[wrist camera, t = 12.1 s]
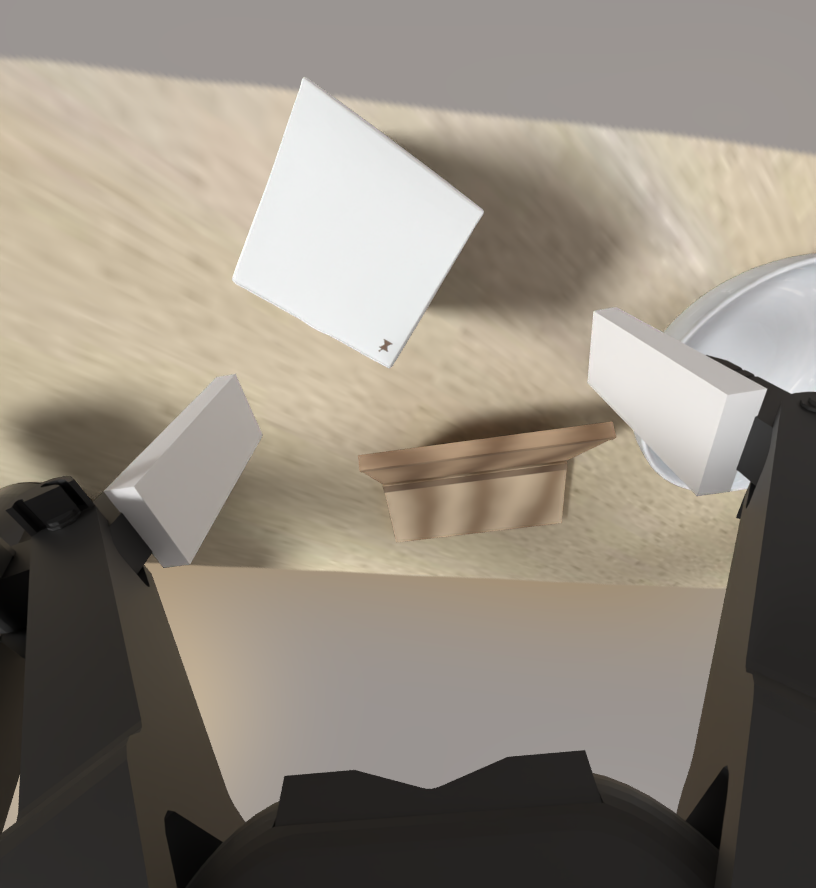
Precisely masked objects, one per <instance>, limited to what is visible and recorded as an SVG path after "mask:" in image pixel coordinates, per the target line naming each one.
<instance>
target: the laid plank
mask: <svg viewBox="0 0 816 888" xmlns="http://www.w3.org/2000/svg"><path fill="white" fill-rule="evenodd" d="M566 470H567V461H566V460H565V461H557V462H550V463H542V464H534V465H526V466H519V467H511V468H503V469H495V470H487V471H480V472H472V473H464V474H456V475H448V476H441V477H433V478H425V479H417V480H410V481H402V482H394V483H386V484H383V489H384V493H385V497H386V501H387V505H388V509H389V514H390V518H391V522H392V526H393V531H394V535H395V539H396V542H404V541H413V540H421V539H430V538H438V537H447V536H455V535H464V534H472V533H481V532H489V531H497V530H506V529H514V528H523V527H531V526H540V525H548V524H557V523H562V513H563V502H564V491H565V481H566Z"/></svg>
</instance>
